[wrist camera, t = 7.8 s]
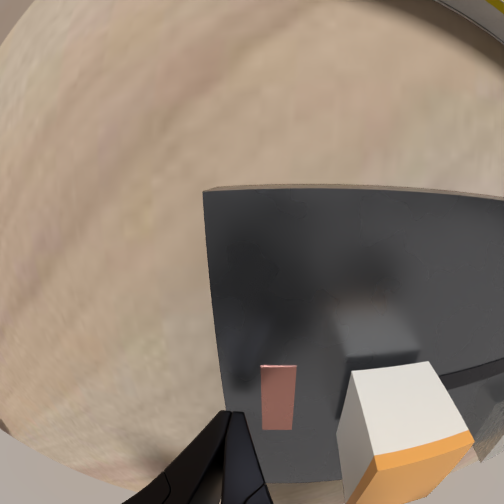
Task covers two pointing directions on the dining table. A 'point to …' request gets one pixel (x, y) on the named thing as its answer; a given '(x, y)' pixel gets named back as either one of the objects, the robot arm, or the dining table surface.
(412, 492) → the block
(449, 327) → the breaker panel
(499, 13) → the emergency button
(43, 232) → the dining table surface
